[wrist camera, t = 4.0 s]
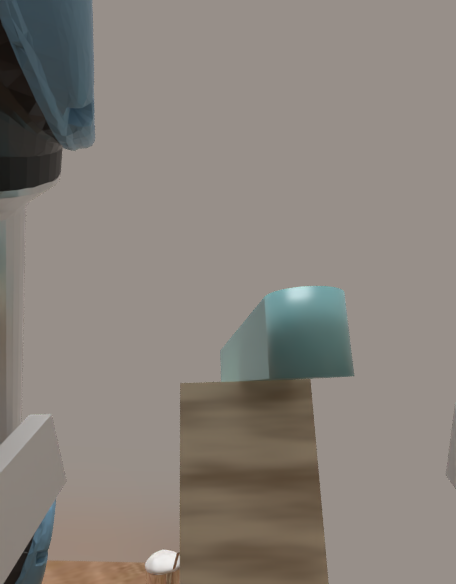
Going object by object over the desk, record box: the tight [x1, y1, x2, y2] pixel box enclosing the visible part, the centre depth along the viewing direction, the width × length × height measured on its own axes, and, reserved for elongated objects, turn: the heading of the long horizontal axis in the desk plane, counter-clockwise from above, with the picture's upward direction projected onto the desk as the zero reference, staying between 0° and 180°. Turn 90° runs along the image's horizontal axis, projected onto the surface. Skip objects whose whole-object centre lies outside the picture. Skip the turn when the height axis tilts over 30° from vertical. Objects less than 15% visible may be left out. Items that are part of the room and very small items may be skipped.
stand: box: [180, 379, 328, 584], centre depth 32 cm, size 18×10×30 cm, turn 177°
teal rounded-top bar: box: [220, 286, 354, 382], centre depth 31 cm, size 33×4×4 cm, turn 6°
